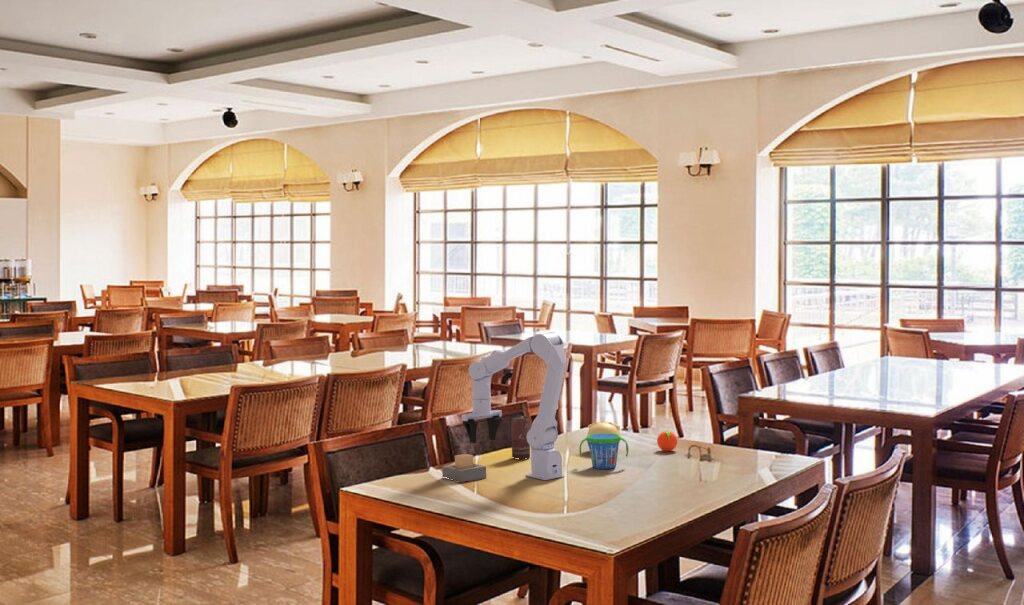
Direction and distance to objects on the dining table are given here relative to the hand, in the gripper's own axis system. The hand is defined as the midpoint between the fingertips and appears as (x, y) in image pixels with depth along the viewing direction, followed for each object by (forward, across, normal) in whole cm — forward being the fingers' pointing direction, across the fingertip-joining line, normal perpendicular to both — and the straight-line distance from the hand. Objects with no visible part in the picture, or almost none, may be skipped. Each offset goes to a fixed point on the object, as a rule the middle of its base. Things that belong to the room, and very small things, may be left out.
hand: (482, 441), depth 314 cm
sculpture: (+10, -50, +3) cm, 51 cm away
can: (+10, -22, -8) cm, 25 cm away
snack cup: (+10, -31, +23) cm, 40 cm away
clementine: (+10, -66, +18) cm, 69 cm away
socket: (+9, +11, +5) cm, 15 cm away
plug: (+9, +11, +5) cm, 15 cm away
